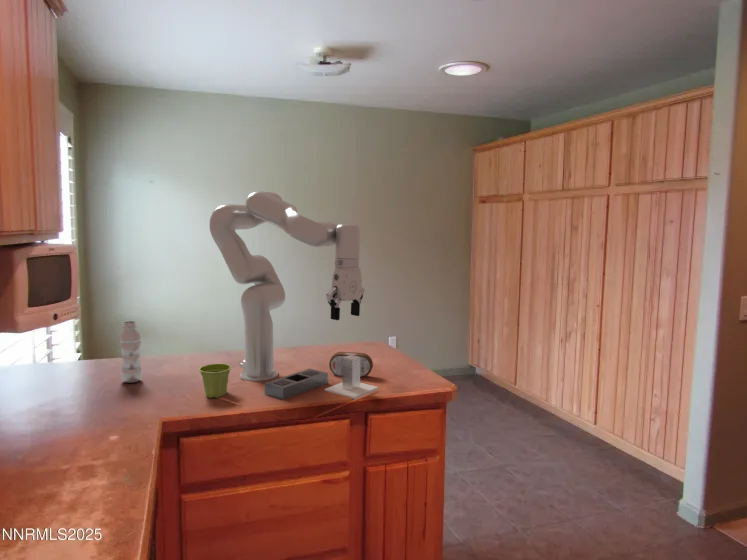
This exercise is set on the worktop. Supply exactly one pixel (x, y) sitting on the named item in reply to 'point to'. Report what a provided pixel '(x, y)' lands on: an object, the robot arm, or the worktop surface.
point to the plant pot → (215, 379)
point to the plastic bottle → (130, 353)
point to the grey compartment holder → (296, 383)
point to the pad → (354, 394)
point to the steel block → (351, 372)
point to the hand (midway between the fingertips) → (345, 317)
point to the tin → (337, 358)
